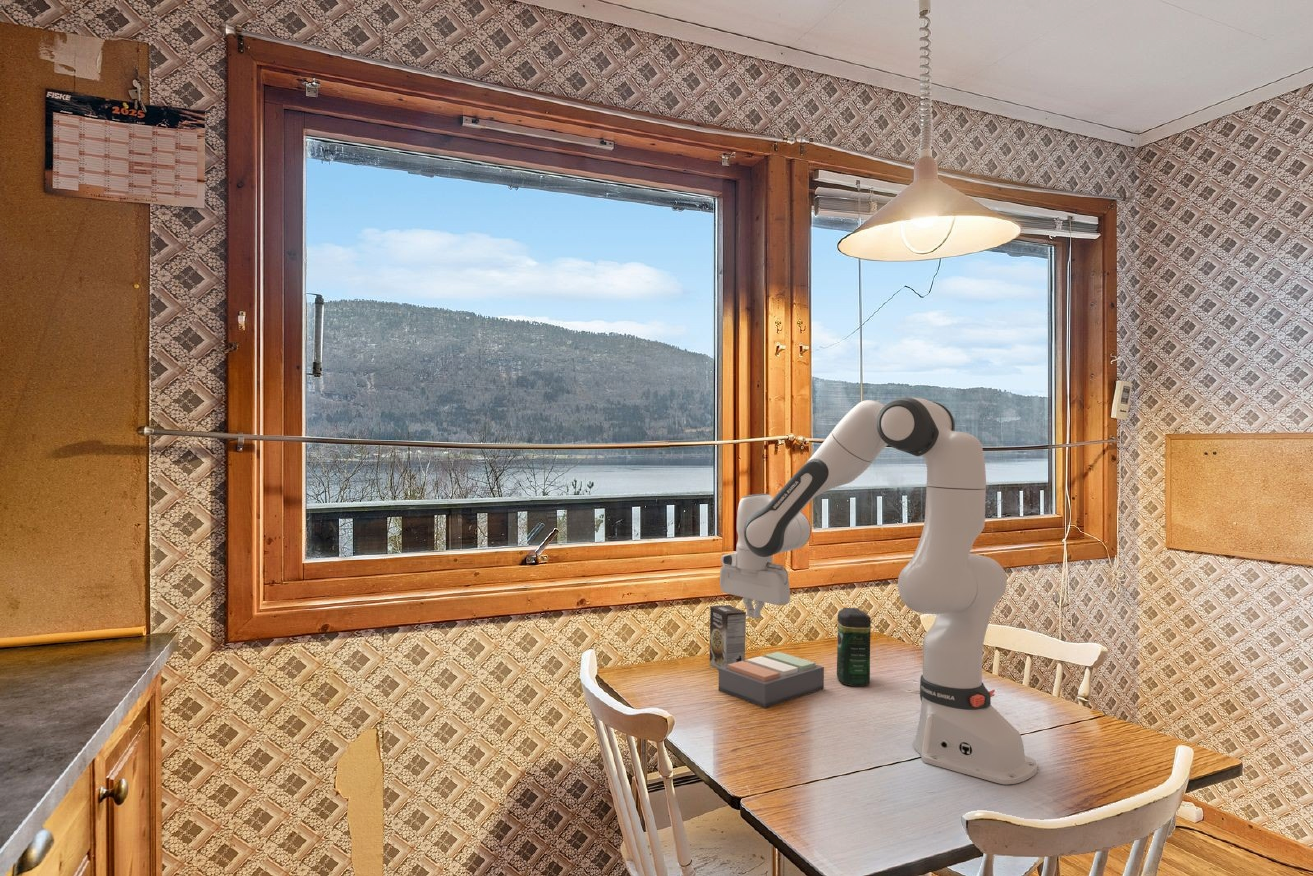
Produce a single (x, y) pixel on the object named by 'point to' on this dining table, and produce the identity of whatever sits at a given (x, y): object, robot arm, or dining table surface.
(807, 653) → the dining table surface
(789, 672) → the cream key
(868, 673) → the coffee jar
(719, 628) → the coffee box
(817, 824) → the dining table surface
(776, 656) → the sage key
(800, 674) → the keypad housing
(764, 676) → the orange rectangular block
